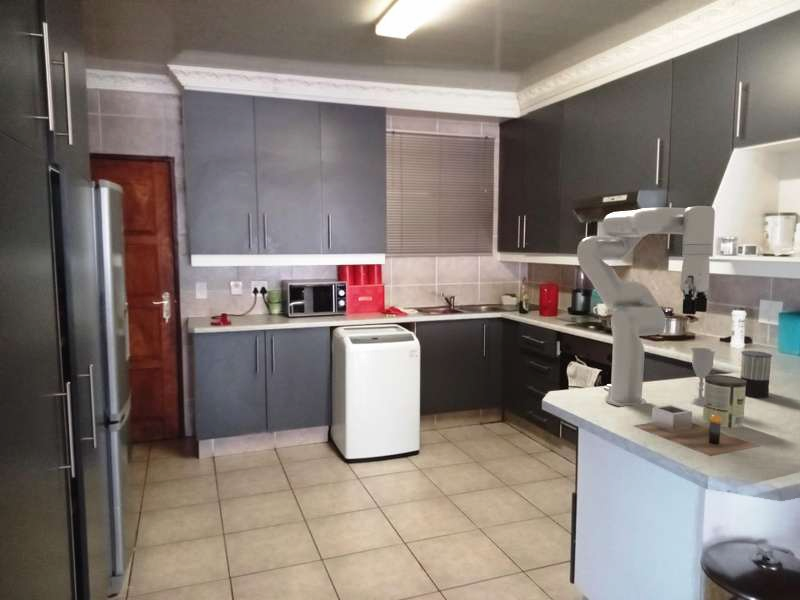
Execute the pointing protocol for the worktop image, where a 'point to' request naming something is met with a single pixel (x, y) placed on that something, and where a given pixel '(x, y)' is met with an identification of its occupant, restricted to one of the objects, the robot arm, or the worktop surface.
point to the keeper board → (700, 439)
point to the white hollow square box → (671, 418)
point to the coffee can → (725, 399)
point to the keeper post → (714, 429)
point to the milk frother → (756, 373)
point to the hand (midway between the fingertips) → (694, 312)
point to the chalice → (701, 369)
